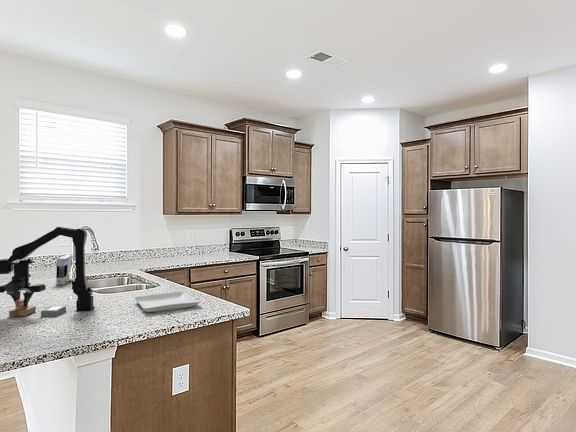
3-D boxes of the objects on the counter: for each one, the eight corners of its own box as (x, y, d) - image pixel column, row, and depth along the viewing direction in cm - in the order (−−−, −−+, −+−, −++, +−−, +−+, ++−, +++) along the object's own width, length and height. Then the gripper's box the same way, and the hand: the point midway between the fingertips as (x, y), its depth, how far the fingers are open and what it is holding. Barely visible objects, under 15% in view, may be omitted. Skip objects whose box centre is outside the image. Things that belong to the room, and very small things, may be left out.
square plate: (143, 316, 172) (143, 307, 172) (132, 303, 195) (132, 296, 195) (199, 308, 186) (199, 300, 186) (183, 297, 209) (183, 290, 209)
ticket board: (65, 311, 178) (65, 305, 178) (56, 316, 170) (56, 310, 170) (50, 311, 177) (50, 306, 177) (40, 316, 169) (40, 310, 169)
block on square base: (35, 311, 177) (35, 297, 176) (25, 316, 169) (25, 301, 168) (20, 311, 176) (20, 298, 176) (8, 316, 168) (8, 302, 168)
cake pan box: (63, 285, 240) (63, 258, 239) (54, 285, 238) (54, 258, 238) (73, 279, 258) (73, 254, 258) (65, 280, 257) (65, 254, 257)
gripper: (-13, 276, 163) (-13, 311, 163) (32, 276, 165) (32, 311, 165) (4, 272, 174) (4, 305, 174) (46, 272, 176) (46, 304, 176)
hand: (21, 306), depth 172 cm, fingers closed on block on square base, 3 cm apart
